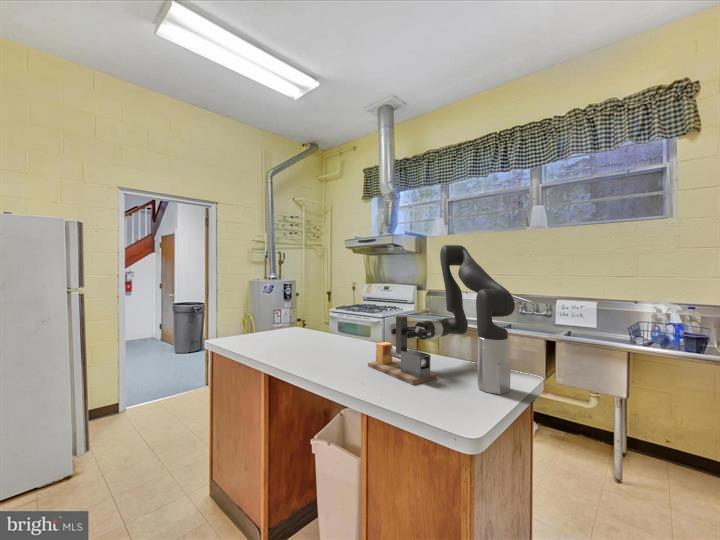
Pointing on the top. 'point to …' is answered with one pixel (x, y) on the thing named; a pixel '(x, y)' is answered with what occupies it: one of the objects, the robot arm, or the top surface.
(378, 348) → the socket block
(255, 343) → the top surface
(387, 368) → the base board
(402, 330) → the sliding bolt
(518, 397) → the top surface
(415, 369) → the guide sleeve
